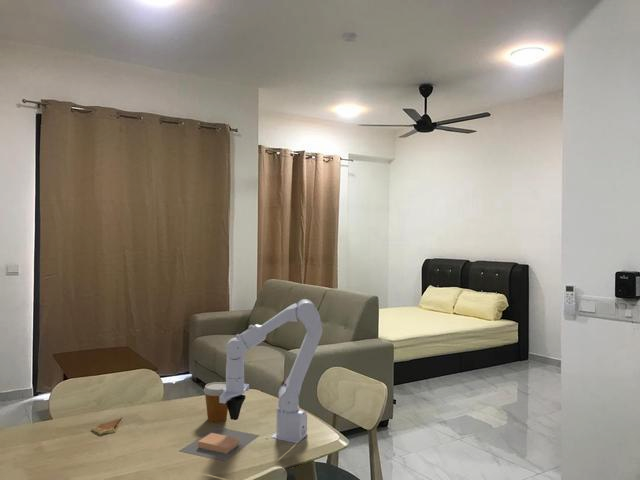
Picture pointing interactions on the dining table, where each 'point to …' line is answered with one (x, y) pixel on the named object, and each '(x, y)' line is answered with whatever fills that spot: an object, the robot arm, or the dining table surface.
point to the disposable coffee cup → (215, 402)
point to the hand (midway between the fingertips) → (234, 419)
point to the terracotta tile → (218, 443)
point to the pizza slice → (107, 427)
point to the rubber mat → (194, 449)
